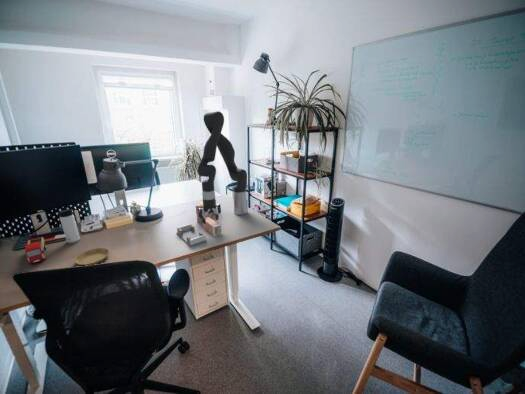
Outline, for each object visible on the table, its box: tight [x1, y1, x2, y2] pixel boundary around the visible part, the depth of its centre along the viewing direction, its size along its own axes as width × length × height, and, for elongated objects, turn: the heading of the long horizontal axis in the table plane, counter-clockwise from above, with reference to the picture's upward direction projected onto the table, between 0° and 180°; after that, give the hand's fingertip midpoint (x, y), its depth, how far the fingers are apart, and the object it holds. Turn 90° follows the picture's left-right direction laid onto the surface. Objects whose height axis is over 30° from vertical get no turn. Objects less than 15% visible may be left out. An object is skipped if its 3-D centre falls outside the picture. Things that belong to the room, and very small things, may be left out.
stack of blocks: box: [195, 199, 218, 223], centre depth 175 cm, size 21×6×12 cm, turn 169°
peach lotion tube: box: [202, 217, 222, 237], centre depth 155 cm, size 5×16×6 cm, turn 39°
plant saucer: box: [74, 247, 110, 266], centre depth 126 cm, size 15×15×3 cm
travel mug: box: [57, 208, 81, 244], centre depth 141 cm, size 6×7×20 cm
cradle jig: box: [176, 223, 208, 248], centre depth 147 cm, size 10×20×4 cm, turn 39°
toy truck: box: [24, 236, 47, 265], centre depth 129 cm, size 7×21×10 cm, turn 39°
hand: (210, 221), depth 154 cm, fingers open, 8 cm apart
